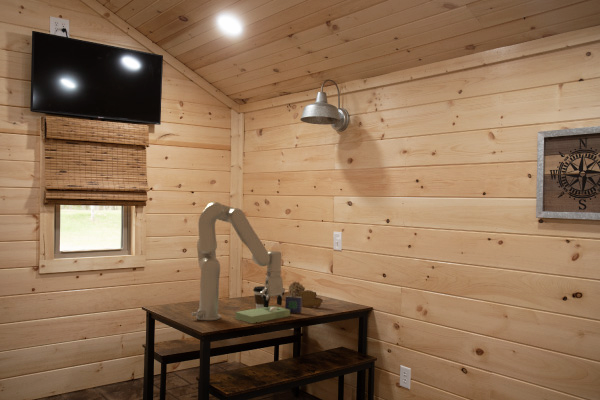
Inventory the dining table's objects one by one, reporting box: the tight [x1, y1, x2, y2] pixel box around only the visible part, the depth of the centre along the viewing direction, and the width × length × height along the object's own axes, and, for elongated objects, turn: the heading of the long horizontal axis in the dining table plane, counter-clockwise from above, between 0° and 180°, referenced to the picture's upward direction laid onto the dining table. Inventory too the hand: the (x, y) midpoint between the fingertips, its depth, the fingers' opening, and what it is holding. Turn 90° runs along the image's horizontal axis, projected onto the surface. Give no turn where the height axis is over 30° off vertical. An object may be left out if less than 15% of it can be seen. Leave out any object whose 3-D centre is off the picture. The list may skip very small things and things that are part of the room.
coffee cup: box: [252, 285, 271, 309], centre depth 287 cm, size 11×11×12 cm
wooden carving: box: [299, 289, 324, 309], centre depth 296 cm, size 16×5×10 cm, turn 75°
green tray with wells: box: [234, 305, 291, 324], centre depth 266 cm, size 27×13×3 cm, turn 136°
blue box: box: [284, 294, 303, 314], centre depth 280 cm, size 9×3×11 cm, turn 80°
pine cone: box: [288, 281, 306, 297], centre depth 322 cm, size 22×10×10 cm, turn 34°
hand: (272, 305), depth 271 cm, fingers open, 9 cm apart
